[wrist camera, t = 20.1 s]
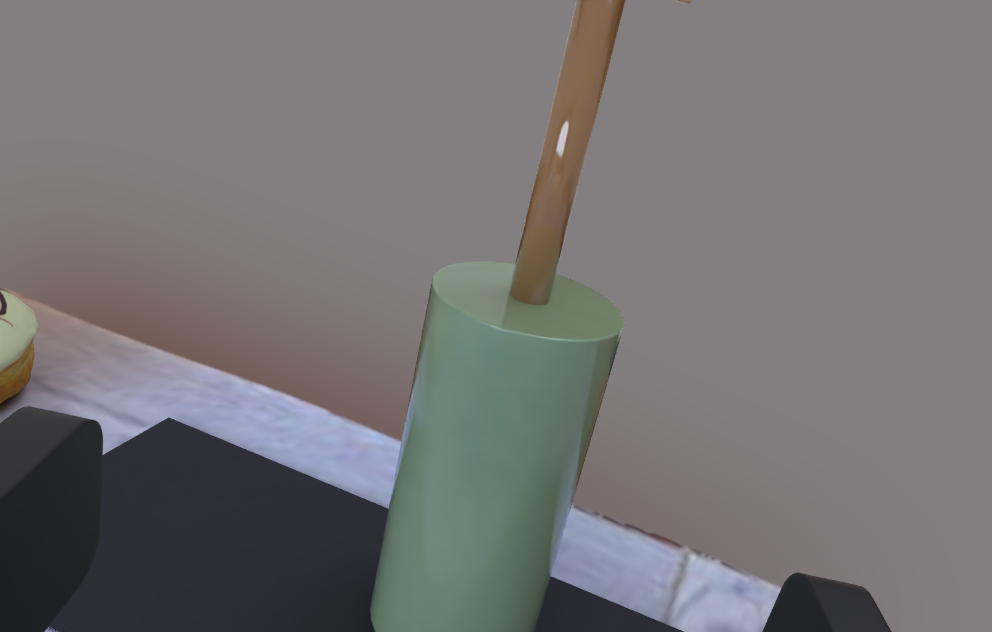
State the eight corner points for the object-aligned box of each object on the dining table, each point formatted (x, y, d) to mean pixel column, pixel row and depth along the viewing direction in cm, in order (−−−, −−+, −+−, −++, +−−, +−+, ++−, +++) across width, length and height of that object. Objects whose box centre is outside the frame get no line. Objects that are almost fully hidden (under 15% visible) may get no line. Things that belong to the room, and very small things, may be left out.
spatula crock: (353, 662, 23) (544, -369, 14) (386, 546, 28) (545, -273, 19) (531, 699, 23) (833, -300, 14) (533, 577, 28) (760, -223, 19)
